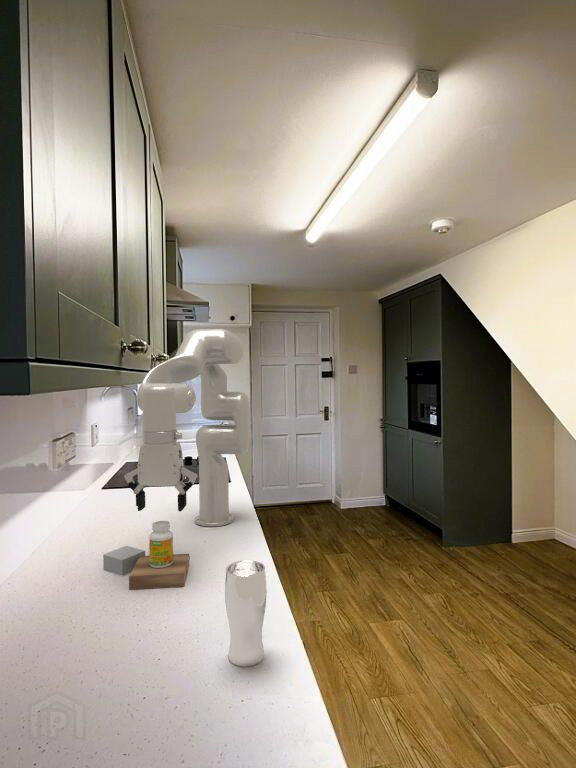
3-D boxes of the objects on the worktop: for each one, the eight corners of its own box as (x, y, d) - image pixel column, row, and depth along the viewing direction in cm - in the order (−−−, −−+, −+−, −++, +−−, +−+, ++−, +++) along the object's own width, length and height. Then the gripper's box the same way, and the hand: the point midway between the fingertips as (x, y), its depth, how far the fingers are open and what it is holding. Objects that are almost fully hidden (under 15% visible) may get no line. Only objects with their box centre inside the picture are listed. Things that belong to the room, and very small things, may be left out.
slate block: (126, 560, 121) (126, 545, 121) (145, 566, 117) (145, 550, 117) (103, 570, 115) (103, 554, 115) (122, 576, 111) (122, 560, 111)
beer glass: (267, 643, 82) (266, 559, 82) (266, 668, 75) (266, 576, 75) (227, 644, 82) (226, 560, 82) (223, 669, 75) (222, 577, 75)
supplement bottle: (149, 569, 107) (148, 527, 107) (149, 560, 112) (149, 520, 112) (173, 567, 108) (173, 525, 108) (172, 558, 114) (172, 518, 114)
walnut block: (140, 567, 116) (140, 555, 115) (189, 565, 117) (189, 553, 117) (129, 589, 104) (129, 576, 104) (184, 586, 105) (184, 573, 105)
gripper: (200, 435, 113) (201, 505, 114) (130, 435, 114) (132, 504, 115) (191, 440, 106) (193, 515, 106) (117, 440, 107) (119, 514, 107)
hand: (161, 509), depth 111 cm, fingers open, 9 cm apart
